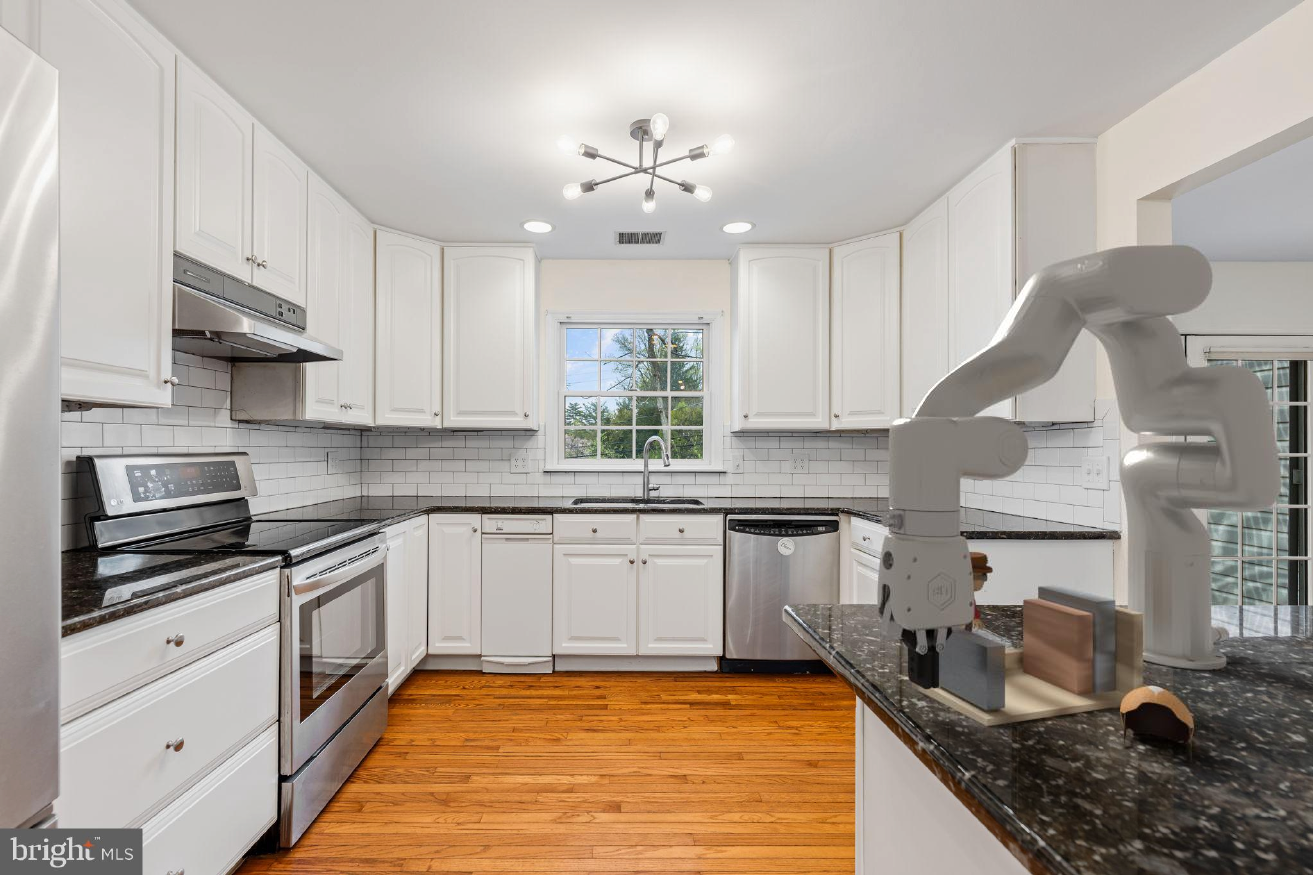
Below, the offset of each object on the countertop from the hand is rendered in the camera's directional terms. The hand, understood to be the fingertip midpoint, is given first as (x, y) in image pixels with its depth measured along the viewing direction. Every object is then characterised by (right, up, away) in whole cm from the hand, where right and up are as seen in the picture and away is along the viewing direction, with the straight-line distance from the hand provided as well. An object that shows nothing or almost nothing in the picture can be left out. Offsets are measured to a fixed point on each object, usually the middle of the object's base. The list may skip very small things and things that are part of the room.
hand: (923, 683), depth 70 cm
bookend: (+6, -2, +2) cm, 7 cm away
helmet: (+18, -4, -11) cm, 21 cm away
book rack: (+14, -4, +5) cm, 16 cm away
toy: (+15, -4, +20) cm, 25 cm away
